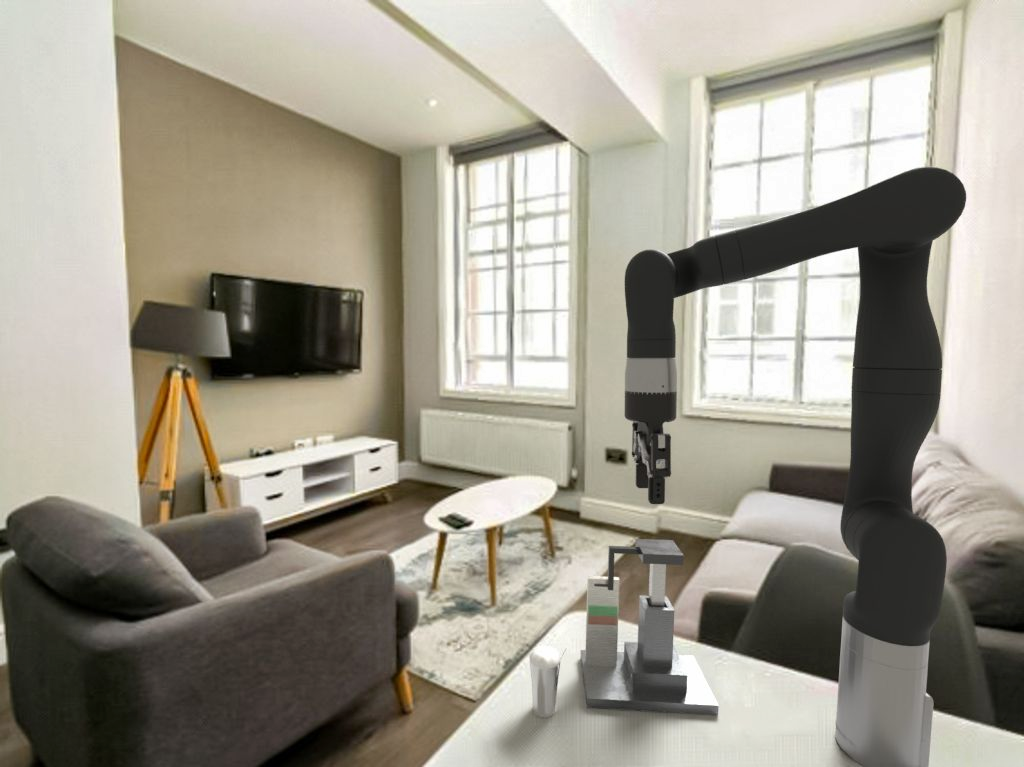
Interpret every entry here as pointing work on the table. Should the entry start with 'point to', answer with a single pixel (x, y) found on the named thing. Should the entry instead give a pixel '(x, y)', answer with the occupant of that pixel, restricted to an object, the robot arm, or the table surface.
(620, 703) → the gauge stand
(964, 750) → the table surface
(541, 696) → the milkshake
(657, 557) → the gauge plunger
